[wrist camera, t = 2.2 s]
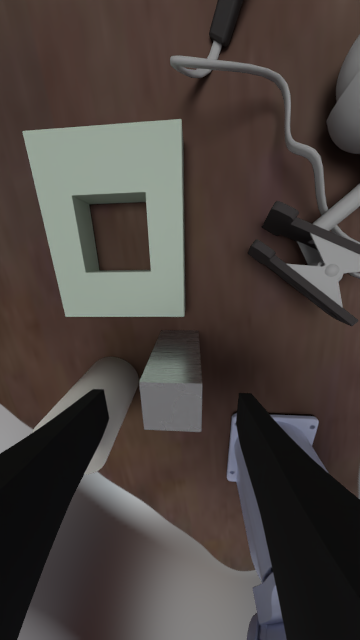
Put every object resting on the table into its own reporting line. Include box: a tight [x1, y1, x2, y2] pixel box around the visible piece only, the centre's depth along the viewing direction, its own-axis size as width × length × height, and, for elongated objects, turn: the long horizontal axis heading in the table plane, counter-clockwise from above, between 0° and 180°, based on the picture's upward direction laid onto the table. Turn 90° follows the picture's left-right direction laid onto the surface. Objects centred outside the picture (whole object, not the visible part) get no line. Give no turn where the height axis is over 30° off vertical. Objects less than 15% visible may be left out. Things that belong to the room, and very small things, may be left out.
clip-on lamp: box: [170, 0, 360, 326], centre depth 9 cm, size 12×6×18 cm
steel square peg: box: [139, 330, 202, 432], centre depth 13 cm, size 3×3×7 cm
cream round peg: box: [32, 357, 139, 475], centre depth 15 cm, size 5×5×7 cm
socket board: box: [23, 119, 185, 317], centre depth 13 cm, size 11×9×2 cm
